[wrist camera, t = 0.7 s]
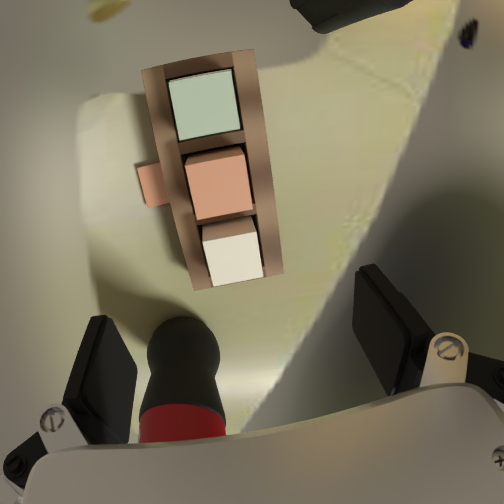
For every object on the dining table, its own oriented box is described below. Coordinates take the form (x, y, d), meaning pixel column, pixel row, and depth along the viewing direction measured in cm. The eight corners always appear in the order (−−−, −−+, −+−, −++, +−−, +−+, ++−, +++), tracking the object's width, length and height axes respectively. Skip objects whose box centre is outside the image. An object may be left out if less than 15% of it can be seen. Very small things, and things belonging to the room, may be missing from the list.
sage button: (174, 83, 24) (168, 82, 20) (227, 73, 24) (230, 70, 20) (183, 133, 26) (179, 140, 22) (235, 123, 26) (240, 128, 22)
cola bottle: (150, 357, 39) (140, 588, 13) (149, 306, 35) (124, 588, 9) (214, 361, 41) (240, 591, 15) (222, 313, 37) (260, 591, 11)
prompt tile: (138, 167, 28) (137, 168, 27) (162, 161, 28) (161, 162, 28) (148, 206, 30) (147, 207, 29) (172, 200, 30) (171, 202, 30)
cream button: (202, 222, 30) (202, 242, 26) (250, 213, 30) (256, 231, 27) (212, 263, 32) (213, 286, 29) (256, 255, 32) (263, 276, 29)
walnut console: (147, 72, 24) (141, 70, 21) (248, 53, 24) (253, 48, 22) (194, 274, 34) (194, 290, 31) (277, 258, 34) (283, 273, 32)
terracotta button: (188, 155, 27) (185, 165, 23) (239, 145, 27) (244, 154, 23) (198, 203, 29) (197, 220, 25) (247, 193, 29) (252, 209, 26)
